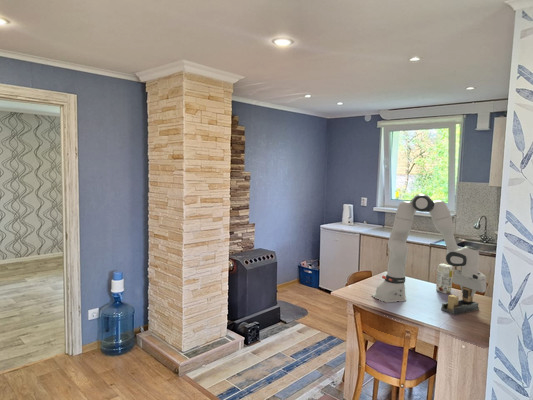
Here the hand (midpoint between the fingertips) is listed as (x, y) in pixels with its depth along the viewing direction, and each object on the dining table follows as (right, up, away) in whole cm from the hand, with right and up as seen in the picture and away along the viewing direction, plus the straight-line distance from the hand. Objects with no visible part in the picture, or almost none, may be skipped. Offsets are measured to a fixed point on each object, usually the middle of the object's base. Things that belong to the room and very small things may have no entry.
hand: (467, 294), depth 225 cm
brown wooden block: (0, -4, 0) cm, 4 cm away
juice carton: (0, -6, +30) cm, 31 cm away
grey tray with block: (-6, -9, -2) cm, 11 cm away
